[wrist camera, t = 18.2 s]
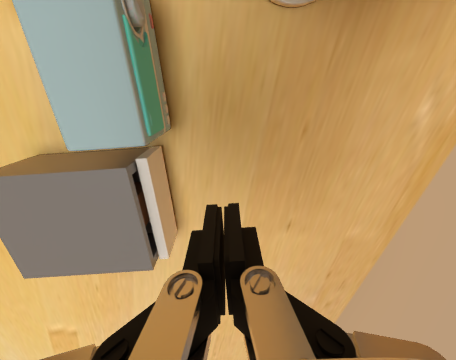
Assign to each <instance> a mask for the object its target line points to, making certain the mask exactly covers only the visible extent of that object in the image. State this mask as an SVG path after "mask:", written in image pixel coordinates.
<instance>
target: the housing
mask: <svg viewBox="0 0 456 360" xmlns="http://www.w3.org/2000/svg"><path fill="white" fill-rule="evenodd" d="M149 148H151V147H144V148H129V149H115V150H101V151H86V152H72V153H57V154H43V155H36V156H33V157H30V158H27V159H24V160H21V161H18V162H15V163H12V164H9V165H6V166H3V167H0V238H1V240H2V242H3V243H4V245H5V247H6V248H7V250H8V252H9V254H10V255H11V257H12V259H13V260H14V262H15V264H16V265H17V267H18V269H19V271H20V272H21V274H22V276H23V277H24V279H26V278H41V277H56V276H71V275H86V274H102V273H117V272H132V271H147V270H153V269H154V266H155V264H156V261H157V259H158V256H159V255H158V250H157V246H156V242H155V238H154V234H153V233H147V231H146V227H145V223H144V219H143V215H142V212H141V208H140V204H139V200H138V196H137V192H136V188H135V184H134V181H133V177H132V174H133V173H135V172H136V171H137V170H138V169H137V164H136V160H135V159H136V158H137V157H139V156H140V155H141V154H143V153H144V152H145V151H147V150H148V149H149Z"/></svg>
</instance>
